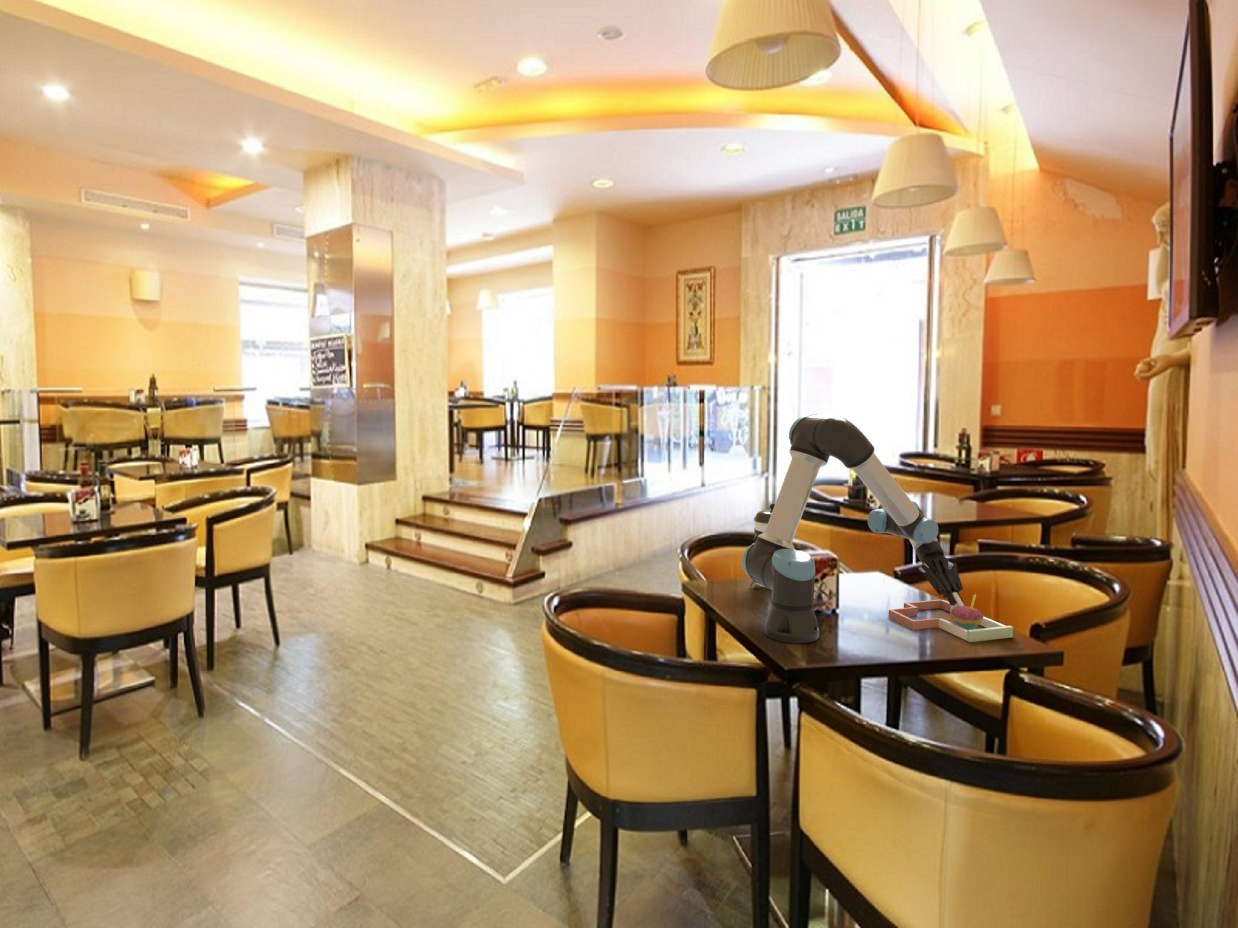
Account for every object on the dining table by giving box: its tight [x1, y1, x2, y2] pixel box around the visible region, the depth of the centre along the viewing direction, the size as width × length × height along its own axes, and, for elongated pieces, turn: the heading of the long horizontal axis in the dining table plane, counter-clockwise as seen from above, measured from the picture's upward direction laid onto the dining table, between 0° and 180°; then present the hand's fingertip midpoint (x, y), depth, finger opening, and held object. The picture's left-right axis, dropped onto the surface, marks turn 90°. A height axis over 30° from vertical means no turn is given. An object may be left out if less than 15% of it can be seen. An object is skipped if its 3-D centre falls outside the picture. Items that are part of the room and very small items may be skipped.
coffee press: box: [749, 503, 775, 590], centre depth 239 cm, size 17×16×30 cm
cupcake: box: [949, 592, 985, 630], centre depth 198 cm, size 9×8×12 cm
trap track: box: [887, 599, 1014, 643], centre depth 205 cm, size 23×28×3 cm
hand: (962, 614), depth 203 cm, fingers closed
